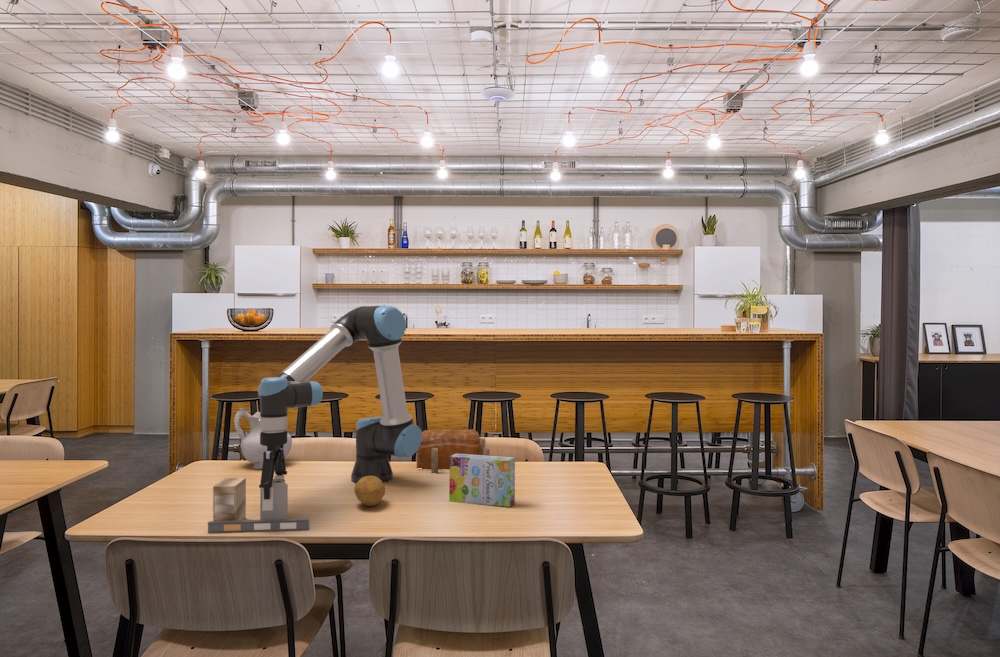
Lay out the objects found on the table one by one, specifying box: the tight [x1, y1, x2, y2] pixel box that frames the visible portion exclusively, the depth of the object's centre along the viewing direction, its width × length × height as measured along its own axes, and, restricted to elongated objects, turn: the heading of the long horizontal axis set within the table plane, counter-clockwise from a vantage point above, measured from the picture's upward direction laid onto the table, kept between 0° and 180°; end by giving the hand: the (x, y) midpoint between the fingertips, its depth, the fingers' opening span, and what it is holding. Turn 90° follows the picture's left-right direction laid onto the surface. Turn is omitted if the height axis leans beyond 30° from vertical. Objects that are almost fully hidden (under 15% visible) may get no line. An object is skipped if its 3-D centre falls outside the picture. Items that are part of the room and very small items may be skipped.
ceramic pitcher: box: [233, 407, 293, 470], centre depth 255 cm, size 22×20×25 cm
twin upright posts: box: [431, 437, 491, 474], centre depth 255 cm, size 22×22×10 cm
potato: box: [354, 476, 387, 507], centre depth 202 cm, size 10×13×9 cm
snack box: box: [448, 454, 516, 508], centre depth 206 cm, size 21×6×15 cm, turn 71°
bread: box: [416, 428, 482, 469], centre depth 256 cm, size 14×26×16 cm, turn 93°
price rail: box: [207, 517, 310, 534], centre depth 177 cm, size 27×2×3 cm, turn 96°
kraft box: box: [212, 477, 247, 521], centre depth 183 cm, size 6×10×12 cm, turn 6°
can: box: [259, 478, 289, 520], centre depth 186 cm, size 8×8×12 cm
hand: (273, 503), depth 186 cm, fingers open, 13 cm apart
